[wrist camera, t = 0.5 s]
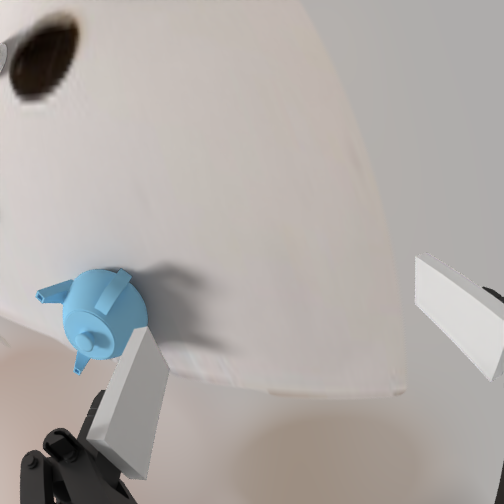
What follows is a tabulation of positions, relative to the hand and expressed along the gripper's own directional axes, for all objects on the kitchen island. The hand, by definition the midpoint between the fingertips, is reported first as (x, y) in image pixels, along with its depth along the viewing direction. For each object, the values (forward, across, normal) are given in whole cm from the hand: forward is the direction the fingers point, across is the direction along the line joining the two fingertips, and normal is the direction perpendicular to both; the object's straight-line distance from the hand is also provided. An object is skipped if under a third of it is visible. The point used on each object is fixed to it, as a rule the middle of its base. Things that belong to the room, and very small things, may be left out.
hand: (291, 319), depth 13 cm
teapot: (+27, -26, -9) cm, 39 cm away
